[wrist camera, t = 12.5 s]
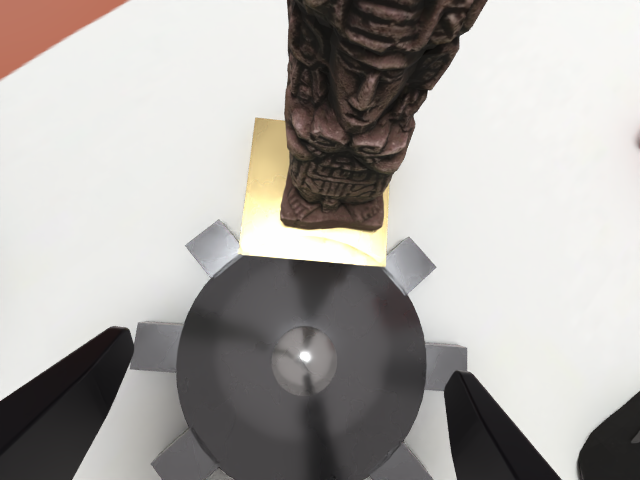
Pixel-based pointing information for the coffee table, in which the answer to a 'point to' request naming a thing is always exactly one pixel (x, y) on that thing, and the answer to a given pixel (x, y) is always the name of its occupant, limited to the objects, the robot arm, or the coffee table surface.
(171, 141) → the coffee table surface
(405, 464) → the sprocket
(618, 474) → the gaming mouse
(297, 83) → the statue
